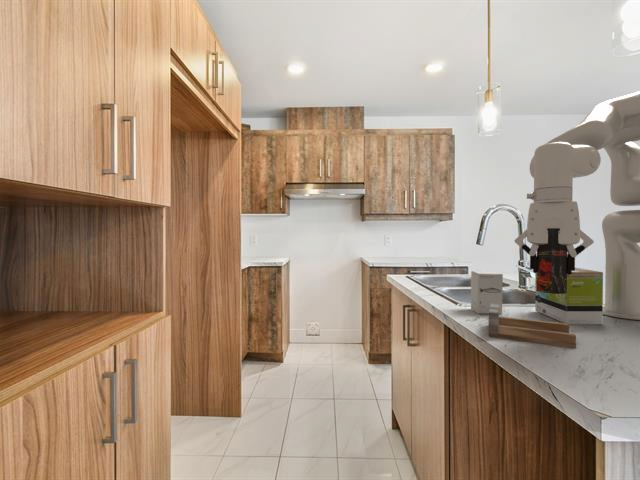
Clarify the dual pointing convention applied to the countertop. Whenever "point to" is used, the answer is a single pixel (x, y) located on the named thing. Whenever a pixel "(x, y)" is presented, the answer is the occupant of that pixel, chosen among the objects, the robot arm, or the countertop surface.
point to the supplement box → (486, 291)
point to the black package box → (552, 265)
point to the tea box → (575, 299)
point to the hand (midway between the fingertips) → (551, 272)
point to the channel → (529, 330)
